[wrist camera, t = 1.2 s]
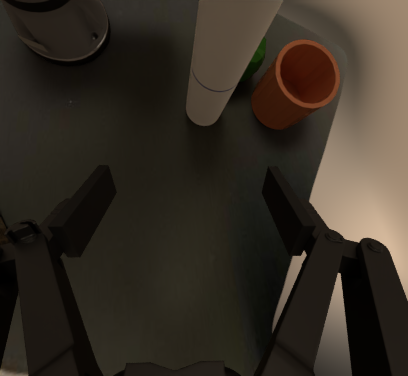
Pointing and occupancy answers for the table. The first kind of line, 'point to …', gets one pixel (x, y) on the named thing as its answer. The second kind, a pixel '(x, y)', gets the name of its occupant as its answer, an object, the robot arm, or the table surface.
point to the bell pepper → (255, 61)
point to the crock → (295, 84)
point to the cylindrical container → (224, 52)
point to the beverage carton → (0, 232)
